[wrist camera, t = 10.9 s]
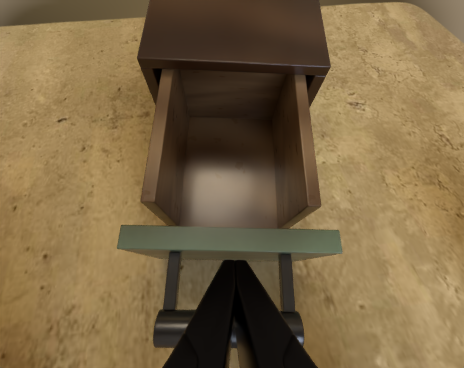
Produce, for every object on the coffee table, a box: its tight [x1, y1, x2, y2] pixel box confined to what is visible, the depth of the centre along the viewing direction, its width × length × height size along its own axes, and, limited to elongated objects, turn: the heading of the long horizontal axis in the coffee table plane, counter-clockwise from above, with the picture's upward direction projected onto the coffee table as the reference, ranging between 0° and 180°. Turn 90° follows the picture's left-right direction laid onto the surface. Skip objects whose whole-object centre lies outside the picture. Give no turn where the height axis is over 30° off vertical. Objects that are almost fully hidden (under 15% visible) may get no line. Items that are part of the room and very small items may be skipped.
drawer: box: [117, 69, 342, 348], centre depth 18 cm, size 19×11×9 cm, turn 179°
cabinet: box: [137, 0, 331, 108], centre depth 23 cm, size 16×13×11 cm
